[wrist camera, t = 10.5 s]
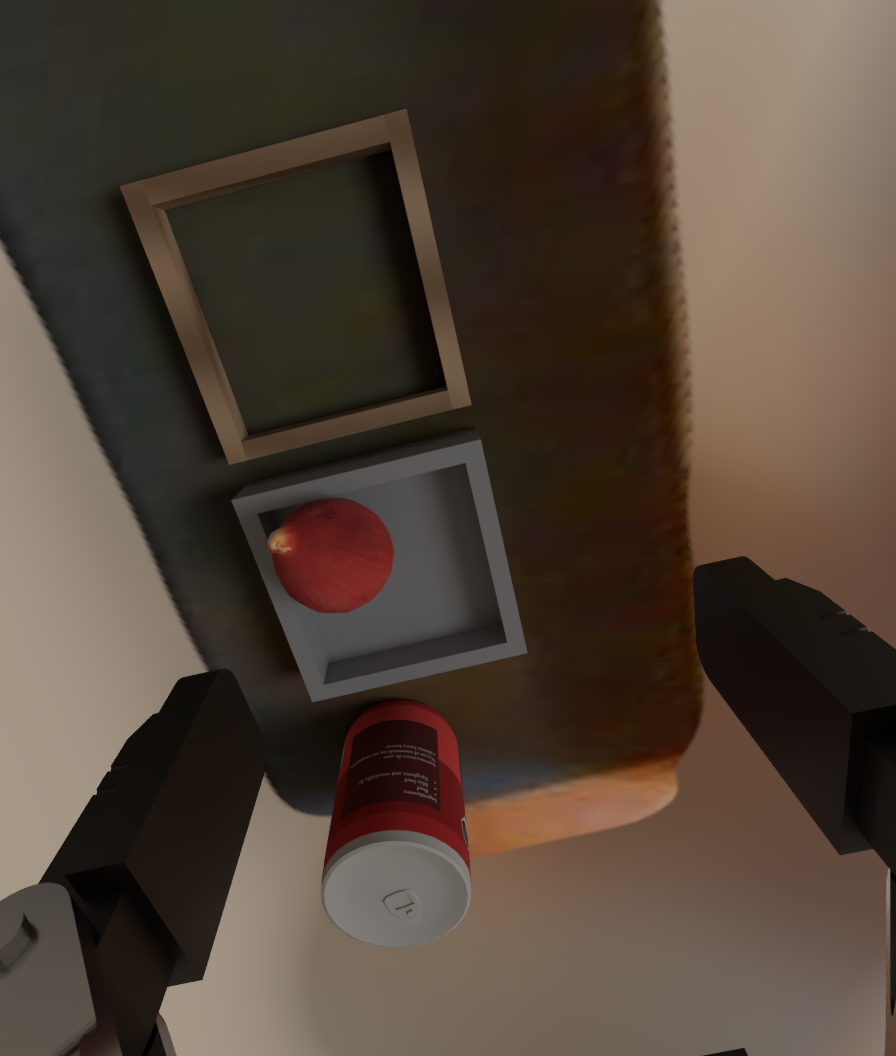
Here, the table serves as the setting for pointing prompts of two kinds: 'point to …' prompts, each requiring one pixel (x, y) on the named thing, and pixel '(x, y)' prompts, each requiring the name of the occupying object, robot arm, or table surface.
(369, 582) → the onion
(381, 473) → the bin
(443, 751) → the canned food
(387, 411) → the square frame
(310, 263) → the table surface
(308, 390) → the table surface
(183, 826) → the robot arm
